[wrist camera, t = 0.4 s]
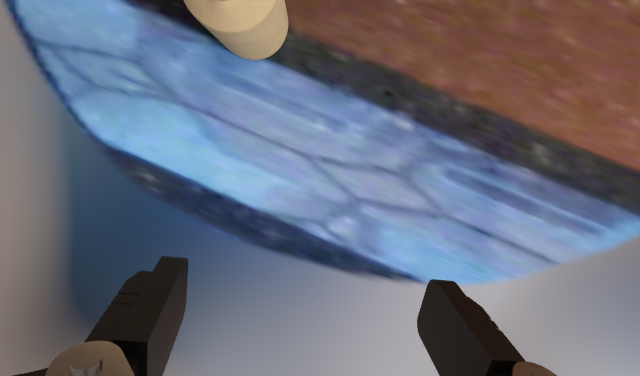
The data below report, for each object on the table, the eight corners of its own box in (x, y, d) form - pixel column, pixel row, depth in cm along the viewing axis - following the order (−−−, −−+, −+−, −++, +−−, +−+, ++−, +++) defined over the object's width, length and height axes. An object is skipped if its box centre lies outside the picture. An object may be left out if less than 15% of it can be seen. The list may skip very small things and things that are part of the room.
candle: (292, -8, 28) (282, -84, 18) (284, 65, 29) (270, 32, 19) (221, -19, 28) (171, -102, 18) (214, 55, 28) (163, 16, 19)
